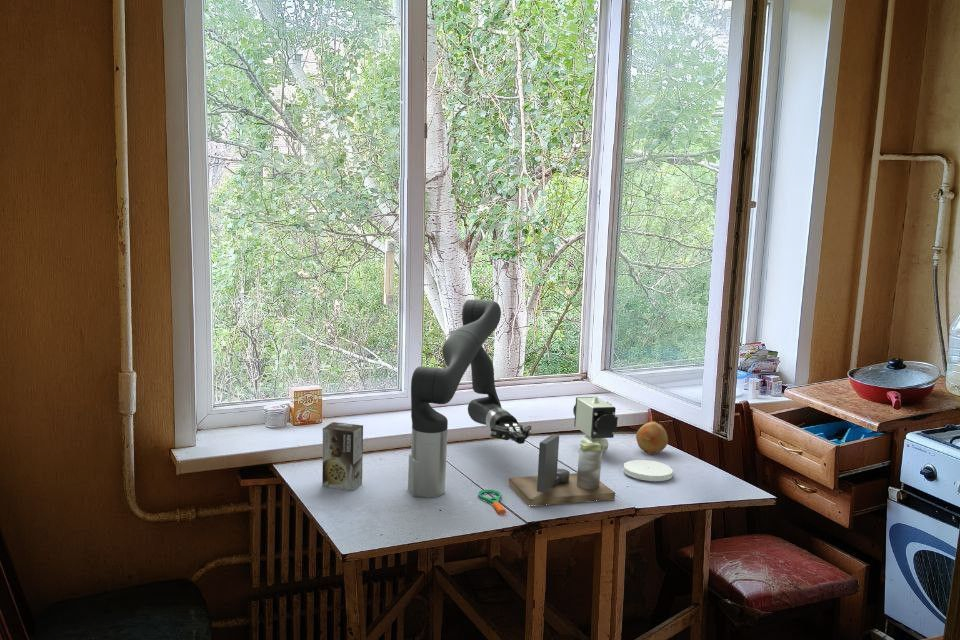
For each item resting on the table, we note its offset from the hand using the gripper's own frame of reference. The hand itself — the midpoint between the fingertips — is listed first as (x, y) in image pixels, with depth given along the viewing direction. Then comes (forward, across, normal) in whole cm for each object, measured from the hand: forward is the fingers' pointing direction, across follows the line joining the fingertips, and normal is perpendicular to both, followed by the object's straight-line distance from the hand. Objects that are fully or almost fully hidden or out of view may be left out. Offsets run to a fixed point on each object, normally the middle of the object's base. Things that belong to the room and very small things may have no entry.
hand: (521, 440), depth 215 cm
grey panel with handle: (+12, +5, +9) cm, 16 cm away
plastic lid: (+2, +39, +12) cm, 41 cm away
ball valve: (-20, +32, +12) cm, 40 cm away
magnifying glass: (+15, -12, +12) cm, 23 cm away
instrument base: (+11, +8, +11) cm, 17 cm away
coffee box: (-5, -48, +12) cm, 50 cm away
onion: (-16, +50, +12) cm, 54 cm away
